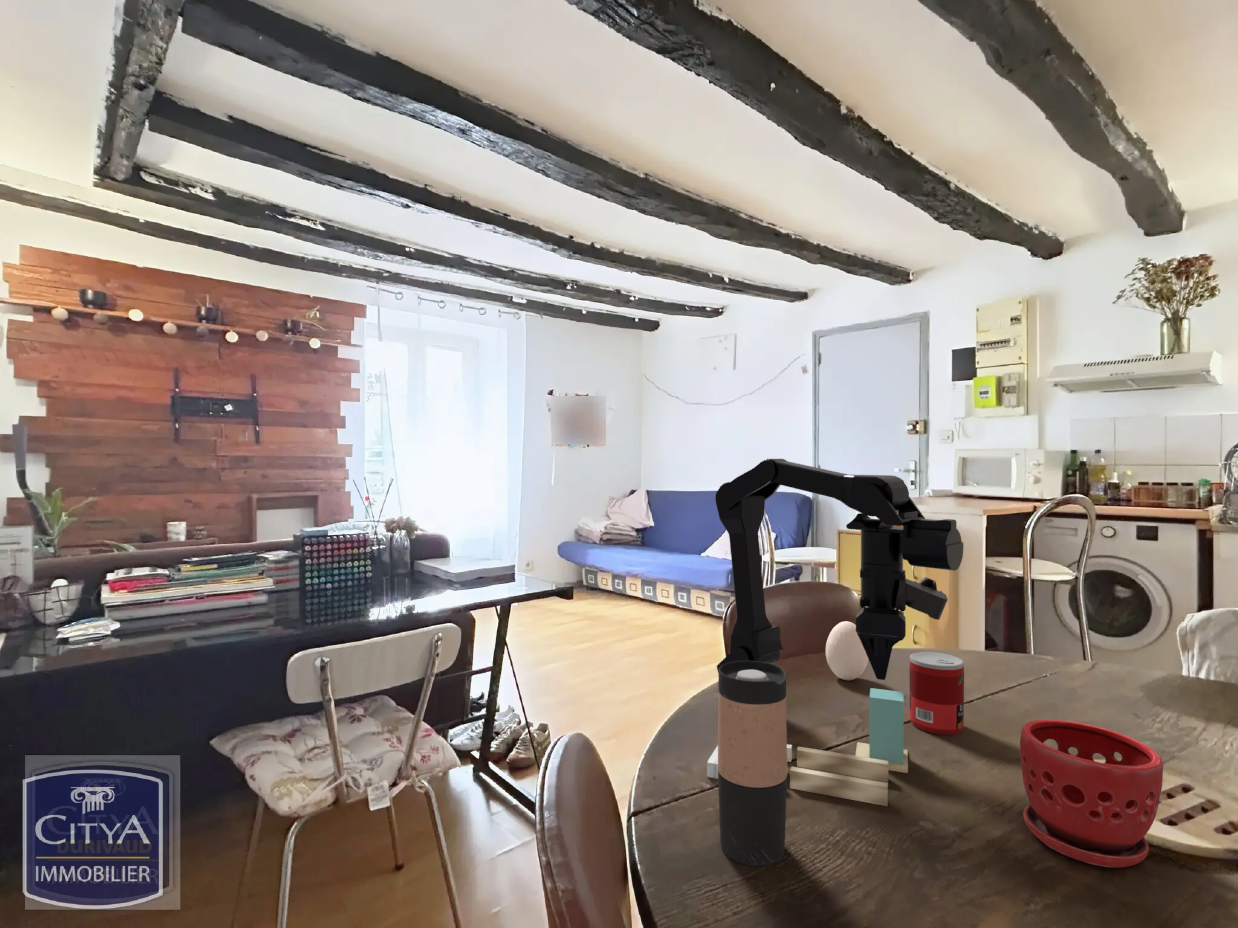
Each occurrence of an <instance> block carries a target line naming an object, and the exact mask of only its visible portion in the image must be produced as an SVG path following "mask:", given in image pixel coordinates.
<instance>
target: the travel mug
mask: <svg viewBox="0 0 1238 928" xmlns="http://www.w3.org/2000/svg"><path fill="white" fill-rule="evenodd" d="M717 683H718V684H717V685H718V688H717V689H718V695H717V696H718V697H717V699H718V702H717V704H718V705H717V706H718V707H717V711H718V712H717V715H718V716H717V745H718V779H717V786H718V790H717V791H718V811H719V817H718V818H719V819H718V821H719V839H720V840H719V841H720V847H721V850H722V852H723V853H724V854H725V855H726V856H727V857H728V858H729V859H731V860H733V861H735V862H737V863H739V864H742V865H747V866H751V867H752V866H755V867H764V866H769V865H772V864H775V863H777V862H778V861H780V860H782V858H783V856H784V854H785V845H786V822H787V821H786V820H787V819H786V817H787V787H788V762H787V744H788V742H787V741H788V738H787V737H788V735H787V734H788V733H787V726H788V725H787V673H786V672H785V670H784V669H783V668H782V667H780V666H778V665H777V664H774V665H773V664H770V663H766V662H760V661H734V662H729V663H726V664H724V665H722V666H721V667H720V668H719V674H718V682H717Z"/></svg>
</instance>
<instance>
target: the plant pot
mask: <svg viewBox="0 0 1238 928" xmlns="http://www.w3.org/2000/svg"><path fill="white" fill-rule="evenodd" d="M1020 731H1021V732H1020V741H1019V757H1020V758H1019V759H1020V765H1021V770H1022V783H1023V788H1024V789H1025V790H1024V791H1025V794H1026V796H1027V799H1028V800H1029V804H1028V805H1027V806H1025V807H1024V810H1023V821H1024V822H1025V825H1026V826H1027V828H1028V829H1029V830H1030V832H1031V833H1032V834H1033V835H1034V836H1035V837H1036V838H1037V839H1039V840H1040V841H1041V842H1042V843H1043V844H1045V845H1046V846H1047V847H1048V848H1049V849H1052V850H1054V851H1056V852H1058V853H1060V854H1062V855H1064V856H1066V857H1069V858H1071V859H1074V860H1076V861H1079V862H1083V863H1085V864H1089V865H1094V866H1100V867H1104V868H1125V867H1127V868H1128V867H1131V866H1135V865H1137V864H1139V863H1141V862H1143V861H1144V860H1145V859H1146V858H1147V856H1148V854H1149V851H1150V848H1149V844H1148V841H1147V840H1146V838H1145V836H1146V835H1147V833H1148V832H1149V830H1150V829H1151V828H1152V826H1153V824H1154V821H1155V819H1156V816H1157V813H1158V809H1159V805H1160V804H1159V802H1160V797H1161V794H1162V790H1163V777H1164V775H1163V774H1164V762H1163V759H1162V757H1161V755H1160V754H1159V753H1158V752H1157V751H1156V750H1154V749H1153V748H1152V747H1150V746H1149V745H1147V744H1145V743H1144V742H1141V741H1140V740H1137V739H1136V738H1132V737H1130V736H1128V735H1126V734H1123V733H1120V732H1117V731H1114V730H1112V729H1111V730H1110V729H1109V728H1104V727H1102V726H1097V725H1093V724H1088V723H1083V722H1077V721H1071V720H1064V719H1049V718H1048V719H1037V720H1031V721H1029V722H1025V724H1023V725H1022V727H1021V730H1020ZM1047 740H1053V741H1055V743H1056V744H1057V749H1056V748H1054V747H1051V746H1048V745H1047V744H1045V742H1046V741H1047ZM1070 748H1075V749H1076V750H1077V753H1075V754H1072V753H1070V752H1069V749H1070ZM1115 753H1118V754H1119V755H1120V756H1121V760H1118V759H1117V758H1116V756H1115ZM1095 754H1099V755H1101V756H1102V757H1103V758H1105V762H1100V761H1095V760H1094V758H1093V757H1094V755H1095Z"/></svg>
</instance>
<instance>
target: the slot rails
mask: <svg viewBox="0 0 1238 928" xmlns="http://www.w3.org/2000/svg"><path fill="white" fill-rule="evenodd" d="M888 788H889V770H888V761H885V760H879V759H873V758H867V757H861V756H855V755H854V754H848V753H842V752H841V753H840V752H836V751H835V752H834V751H830V750H829V751H828V750H822V749H816V748H809V747H803V746H797V748H796V766H791V767H790V769H789V789H793V790H798V791H803V792H807V793H812V794H820V795H824V796H830V797H835V798H841V799H846V800H852V801H856V802H857V801H858V802H862V803H863V802H864V803H868V804H871V805H872V804H873V805H878V806H883V807H888V803H889V802H888V801H889V796H888V795H889V794H888V793H889V791H888V790H889V789H888Z"/></svg>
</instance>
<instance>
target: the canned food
mask: <svg viewBox="0 0 1238 928" xmlns="http://www.w3.org/2000/svg"><path fill="white" fill-rule="evenodd" d="M909 719H910V722H911V724H912V725H913V726H914V727H915V728H917V729H920V730H922V731H925V732H927V733H932V734H937V735H948V736H949V735H955V734H959V733H960V732H962V730H963V728H964V724H965V723H964V722H965V720H964V719H965V664H964V660H963V659H961V658H959V657H957V656H954V655H951V654H948V653H942V652H936V651H919V652H913V653H912V654H910V655H909Z"/></svg>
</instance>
